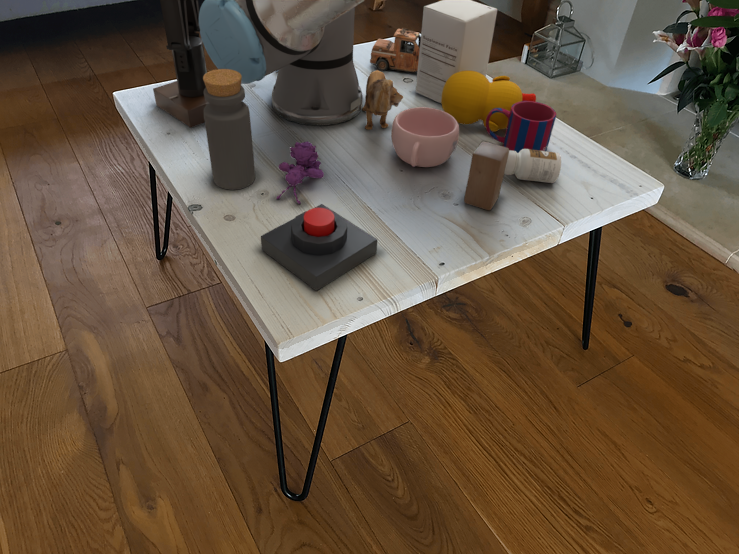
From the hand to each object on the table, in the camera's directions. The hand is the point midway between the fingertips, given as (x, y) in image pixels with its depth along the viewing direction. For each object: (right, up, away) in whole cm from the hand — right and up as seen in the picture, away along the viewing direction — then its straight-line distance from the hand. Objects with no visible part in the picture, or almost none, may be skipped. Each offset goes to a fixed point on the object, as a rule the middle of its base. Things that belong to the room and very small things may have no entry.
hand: (192, 80), depth 97 cm
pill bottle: (+56, -16, -9) cm, 59 cm away
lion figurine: (+30, -5, +3) cm, 31 cm away
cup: (+51, -11, -2) cm, 52 cm away
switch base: (+22, -28, -23) cm, 42 cm away
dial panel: (0, -4, +3) cm, 5 cm away
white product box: (+43, +1, +12) cm, 44 cm away
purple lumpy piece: (+19, -19, -12) cm, 29 cm away
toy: (+55, -5, +1) cm, 55 cm away
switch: (+22, -26, -25) cm, 42 cm away
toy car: (+35, +8, +19) cm, 40 cm away
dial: (0, -1, +1) cm, 2 cm away
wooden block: (+44, -21, -13) cm, 50 cm away
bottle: (+9, -18, -12) cm, 23 cm away
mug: (+36, -14, -5) cm, 39 cm away
